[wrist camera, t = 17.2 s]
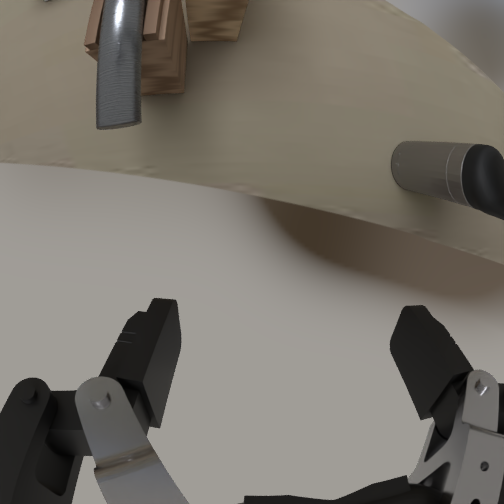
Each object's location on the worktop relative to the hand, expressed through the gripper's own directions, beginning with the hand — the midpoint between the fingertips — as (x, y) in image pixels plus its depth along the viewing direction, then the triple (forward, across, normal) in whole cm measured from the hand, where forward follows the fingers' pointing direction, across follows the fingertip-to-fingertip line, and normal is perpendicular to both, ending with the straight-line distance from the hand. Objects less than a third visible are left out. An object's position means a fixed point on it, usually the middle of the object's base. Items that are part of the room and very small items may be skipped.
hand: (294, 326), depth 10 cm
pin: (+15, +13, -18) cm, 26 cm away
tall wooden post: (+36, +16, -16) cm, 42 cm away
